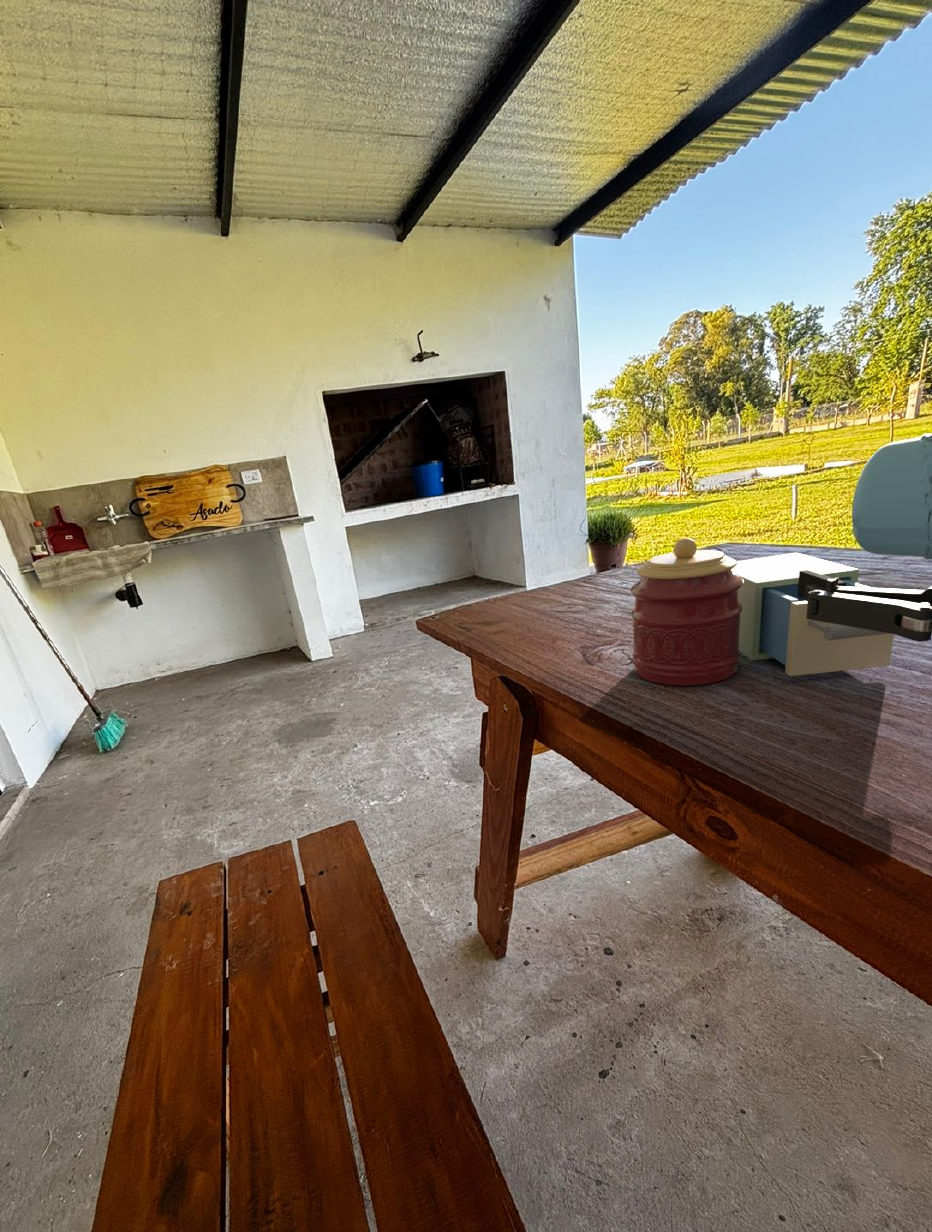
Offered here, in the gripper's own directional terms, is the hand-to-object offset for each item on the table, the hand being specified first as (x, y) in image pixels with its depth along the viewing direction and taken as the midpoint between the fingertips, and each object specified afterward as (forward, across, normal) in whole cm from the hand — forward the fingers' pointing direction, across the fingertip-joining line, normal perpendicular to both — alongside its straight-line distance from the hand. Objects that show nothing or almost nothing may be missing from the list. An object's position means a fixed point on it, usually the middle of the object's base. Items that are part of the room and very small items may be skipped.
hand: (876, 572), depth 53 cm
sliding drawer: (+8, 0, -12) cm, 15 cm away
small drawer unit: (+20, 0, -13) cm, 24 cm away
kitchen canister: (+12, -15, -13) cm, 23 cm away
